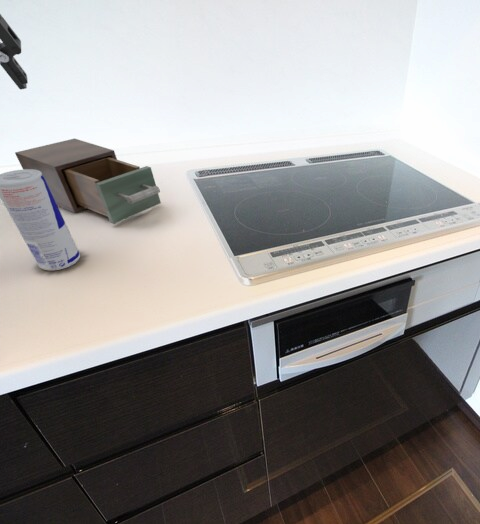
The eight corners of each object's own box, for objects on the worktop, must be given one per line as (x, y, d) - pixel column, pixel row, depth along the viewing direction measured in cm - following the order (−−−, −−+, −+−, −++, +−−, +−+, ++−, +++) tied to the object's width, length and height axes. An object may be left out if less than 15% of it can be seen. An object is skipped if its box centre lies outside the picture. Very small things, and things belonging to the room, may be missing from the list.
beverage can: (88, 259, 60) (49, 173, 51) (51, 276, 56) (2, 186, 47) (69, 249, 62) (29, 165, 54) (33, 265, 58) (-18, 176, 50)
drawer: (175, 208, 74) (165, 171, 70) (128, 229, 67) (114, 190, 62) (122, 189, 80) (110, 154, 76) (73, 207, 73) (57, 169, 68)
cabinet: (128, 192, 81) (114, 150, 75) (75, 213, 72) (54, 166, 67) (90, 179, 86) (74, 138, 80) (36, 196, 77) (14, 152, 72)
